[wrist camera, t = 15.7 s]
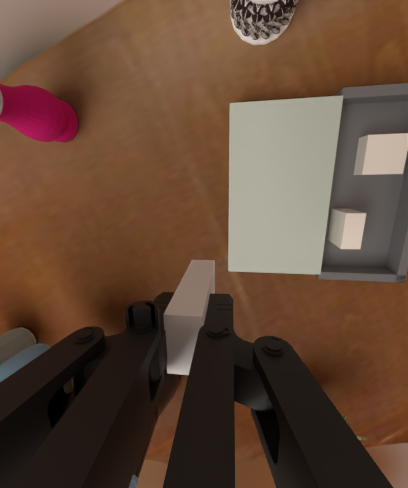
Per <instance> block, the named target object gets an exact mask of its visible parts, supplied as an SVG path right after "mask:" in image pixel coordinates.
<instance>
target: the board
mask: <svg viewBox="0 0 408 488" xmlns="http://www.w3.org/2000/svg"><path fill="white" fill-rule="evenodd" d="M342 103H343V95H342V96H328V97H313V98H298V99H283V100H269V101H254V102H239V103H230V132H229V250H228V271H235V272H263V273H291V274H319V275H320V274H321V266H322V259H323V251H324V243H325V235H326V228H327V220H328V212H329V204H330V196H331V189H332V181H333V173H334V165H335V157H336V150H337V142H338V134H339V126H340V118H341V111H342Z"/></svg>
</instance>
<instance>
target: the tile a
mask: <svg viewBox="0 0 408 488" xmlns="http://www.w3.org/2000/svg"><path fill="white" fill-rule="evenodd" d="M365 219H366V213H364V212H360V211H356V210H353V209H349V208H337V209H332V210H331V218H330V226H329V234H328V240H329V241H330V242H332V243H333V244H334V245H336V246H337V247H339V248H340V249H360V248H361V242H362V236H363V231H364V225H365Z"/></svg>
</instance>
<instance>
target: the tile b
mask: <svg viewBox="0 0 408 488" xmlns="http://www.w3.org/2000/svg"><path fill="white" fill-rule="evenodd" d="M407 151H408V133H400V134H378V135H367V136H364V137H361V138H359V141H358V148H357V155H356V161H355V168H354V175H376V174H403V171H404V166H405V161H406V156H407Z"/></svg>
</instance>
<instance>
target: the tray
mask: <svg viewBox="0 0 408 488" xmlns="http://www.w3.org/2000/svg"><path fill="white" fill-rule="evenodd" d="M342 95H343V103H342V111H341V118H340V126H339V134H338V142H337V150H336V157H335V165H334V173H333V181H332V189H331V196H330V204H329V212H328V220H327V228H326V235H325V243H324V251H323V259H322V266H321V274H320V275H319V274H315V275H316V276H317V278H318V279H327V280H353V281H379V282H405V278H406V273H407V269H408V151H407V156H406V161H405V166H404V171H403V174H376V175H354V168H355V161H356V155H357V148H358V141H359V138H361V137H364V136H367V135H378V134H400V133H408V83H400V84H386V85H372V86H359V87H345V88H342V89H341V90H340V91H338V92H337V93H336V94H335V95H334V96H342ZM337 208H349V209H353V210H356V211H360V212H364V213H366V219H365V225H364V231H363V236H362V242H361V248H360V249H340V248H339V247H337V246H336V245H334V244H333V243H332V242H330V241H329V240H328V234H329V226H330V218H331V210H332V209H337Z"/></svg>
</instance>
